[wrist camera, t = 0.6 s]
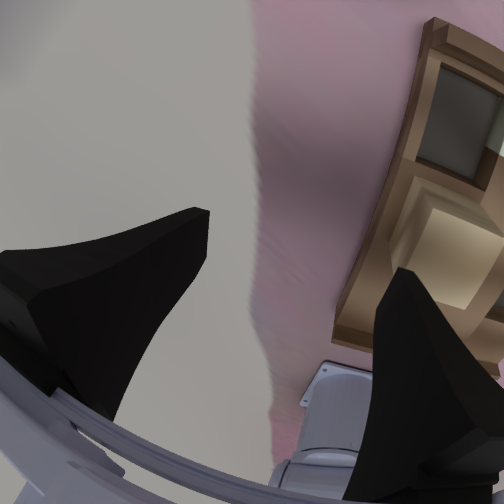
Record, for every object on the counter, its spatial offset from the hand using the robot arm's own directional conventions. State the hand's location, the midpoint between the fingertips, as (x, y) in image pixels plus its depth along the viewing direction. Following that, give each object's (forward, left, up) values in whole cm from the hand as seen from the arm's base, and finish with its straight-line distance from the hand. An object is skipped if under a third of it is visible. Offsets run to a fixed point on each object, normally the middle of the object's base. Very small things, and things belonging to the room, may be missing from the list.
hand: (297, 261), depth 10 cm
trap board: (+1, -12, -10) cm, 16 cm away
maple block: (0, -7, -8) cm, 11 cm away
